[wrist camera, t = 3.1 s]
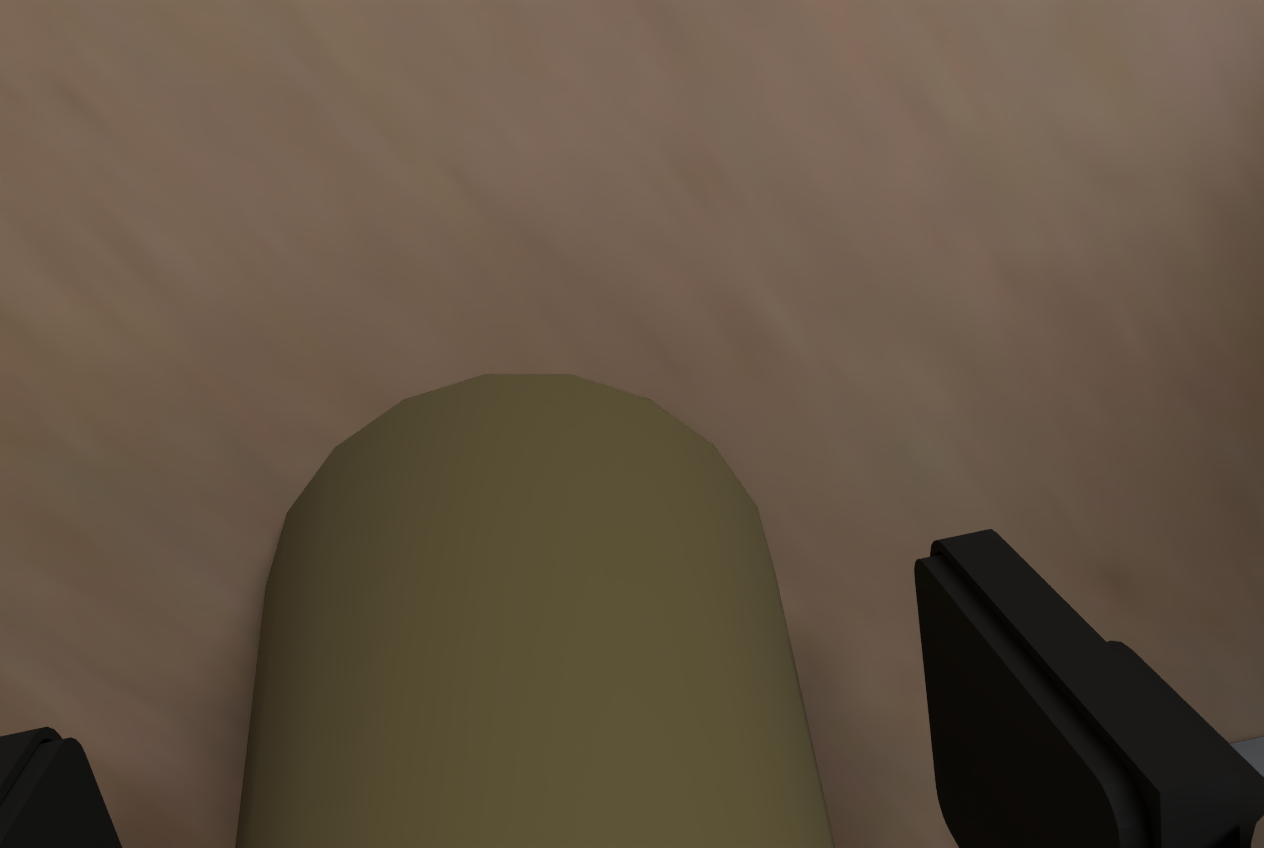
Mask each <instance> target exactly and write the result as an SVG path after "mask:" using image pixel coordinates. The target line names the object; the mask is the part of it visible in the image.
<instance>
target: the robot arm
mask: <svg viewBox="0 0 1264 848" xmlns="http://www.w3.org/2000/svg"><path fill="white" fill-rule="evenodd" d="M914 573H915V585H916V595H917V605H918V614H919V624H920V634H921V644H922V653H923V663H924V673H925V683H926V693H927V702H928V712H929V722H930V732H931V742H932V751H933V761H934V771H935V781H936V789H937V796H938V800H939V804H940V808H941V811H942V814H943V817H944V819H945V822H946V824H947V826H948V828H949V830H950V832H951V834H952V836H953V838H954V839H955V841H956V843H957V845H958V846H959V848H1264V777H1263V776H1262V775H1261V774H1260V773H1259V772H1258V771H1257V770H1256V769H1255V768H1254V767H1253V766H1252V765H1251V764H1250V763H1249V762H1248V761H1247V760H1246V759H1244V758H1243V757H1242V756H1241V755H1240V754H1239V753H1238V752H1237V751H1236V750H1235V749H1234V748H1233V747H1232V746H1231V745H1230V744H1229V743H1228V742H1227V741H1226V740H1225V739H1224V738H1223V737H1222V736H1221V735H1220V734H1219V733H1218V732H1217V731H1216V730H1215V729H1213V728H1212V727H1211V726H1210V725H1209V724H1208V723H1207V722H1206V721H1205V720H1204V719H1203V718H1202V717H1201V716H1200V715H1199V714H1198V713H1197V712H1196V711H1195V710H1194V709H1193V708H1192V707H1191V706H1190V705H1189V704H1188V703H1187V702H1186V701H1185V700H1184V699H1182V698H1181V697H1180V696H1179V695H1178V694H1177V693H1176V692H1175V691H1174V690H1173V689H1172V688H1171V687H1170V686H1169V685H1168V684H1167V683H1166V682H1165V681H1164V680H1163V679H1162V678H1161V677H1160V676H1159V675H1158V674H1157V673H1156V672H1155V671H1154V670H1153V669H1151V668H1150V667H1149V666H1148V665H1147V664H1146V663H1145V662H1144V661H1143V660H1142V659H1141V658H1140V657H1139V656H1138V655H1137V654H1136V653H1135V652H1134V651H1133V650H1132V649H1130V648H1129V647H1128V646H1126V645H1125V644H1123V643H1122V642H1118V641H1108V642H1106V641H1105V640H1104V639H1103V638H1102V637H1101V636H1100V635H1099V634H1098V633H1097V632H1096V631H1095V630H1094V629H1093V628H1092V627H1091V626H1090V625H1089V624H1088V623H1087V622H1086V621H1085V620H1084V619H1083V618H1082V617H1081V616H1080V615H1079V614H1078V613H1077V612H1076V611H1075V610H1074V609H1073V608H1072V607H1071V606H1070V605H1069V604H1068V603H1067V602H1066V601H1065V600H1064V599H1063V598H1062V597H1061V596H1060V595H1059V594H1058V593H1057V592H1056V591H1055V590H1054V589H1053V588H1052V587H1051V586H1050V585H1049V584H1048V583H1047V582H1046V581H1045V580H1044V579H1043V578H1042V577H1041V576H1040V575H1039V574H1038V573H1037V572H1036V571H1035V570H1034V569H1033V568H1032V567H1031V566H1030V565H1029V564H1028V563H1027V562H1026V561H1025V560H1024V559H1023V558H1022V557H1021V556H1020V555H1019V554H1018V553H1017V552H1016V551H1015V550H1014V549H1013V548H1012V547H1011V546H1010V545H1009V544H1008V543H1007V542H1006V541H1005V540H1004V539H1002V538H1001V537H1000V536H999V535H998V534H997V533H996V532H995V531H993V530H992V529H989V530H983V531H979V532H974V533H969V534H964V535H960V536H955V537H950V538H945V539H940V540H936V541H934V542H933V543H932V545H931V552H930V557H927V558H922V559H917V560H916V562H915V568H914ZM0 848H122V846H121V844H120V841H119V838H118V836H117V833H116V831H115V828H114V826H113V823H112V821H111V818H110V815H109V813H108V810H107V808H106V805H105V803H104V800H103V798H102V795H101V792H100V790H99V787H98V785H97V782H96V780H95V777H94V775H93V772H92V770H91V767H90V764H89V762H88V759H87V757H86V754H85V752H84V750H83V748H82V746H81V744H80V743H79V742H78V741H77V740H76V739H74V738H66V739H62V738H61V736H60V735H59V734H58V733H57V732H56V731H55V730H54V729H52V728H49V727H44V728H39V729H34V730H29V731H25V732H20V733H15V734H10V735H5V736H1V737H0Z"/></svg>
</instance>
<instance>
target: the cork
mask: <svg viewBox="0 0 1264 848" xmlns="http://www.w3.org/2000/svg"><path fill="white" fill-rule="evenodd" d="M235 848H835V846H834V841H833V837H832V832H831V827H830V823H829V818H828V814H827V809H826V804H825V800H824V795H823V791H822V786H821V781H820V777H819V772H818V768H817V763H816V758H815V754H814V749H813V745H812V740H811V735H810V731H809V726H808V721H807V717H806V712H805V708H804V703H803V698H802V694H801V689H800V685H799V680H798V675H797V671H796V666H795V662H794V657H793V652H792V648H791V643H790V639H789V634H788V629H787V625H786V620H785V616H784V611H783V606H782V602H781V597H780V593H779V588H778V583H777V579H776V574H775V571H774V567H773V563H772V560H771V556H770V552H769V549H768V545H767V541H766V538H765V534H764V530H763V527H762V523H761V519H760V516H759V512H758V508H757V506H756V504H755V503H754V502H753V500H752V499H751V497H750V496H749V494H748V493H747V492H746V490H745V489H744V487H743V486H742V485H741V483H740V482H739V480H738V479H737V477H736V476H735V475H734V473H733V472H732V470H731V469H730V467H729V466H728V465H727V463H726V462H725V460H724V459H723V458H722V456H721V455H720V453H719V452H718V450H717V449H716V448H715V446H714V445H713V444H711V443H710V442H708V441H707V440H706V439H704V438H703V437H701V436H700V435H699V434H697V433H696V432H694V431H693V430H692V429H690V428H689V427H687V426H686V425H685V424H683V423H682V422H681V421H679V420H678V419H676V418H675V417H674V416H672V415H671V414H669V413H668V412H667V411H665V410H664V409H662V408H661V407H660V406H658V405H657V404H655V403H654V402H653V401H651V400H650V399H646V398H643V397H640V396H637V395H634V394H631V393H627V392H624V391H621V390H618V389H615V388H612V387H608V386H605V385H602V384H599V383H596V382H593V381H589V380H586V379H583V378H580V377H577V376H574V375H482V376H479V377H476V378H473V379H469V380H466V381H463V382H460V383H457V384H453V385H450V386H447V387H444V388H440V389H437V390H434V391H431V392H427V393H424V394H421V395H418V396H415V397H411V398H408V399H405V400H403V401H401V402H400V403H398V404H397V405H395V406H394V407H393V408H391V409H390V410H388V411H387V412H385V413H384V414H383V415H381V416H380V417H378V418H377V419H375V420H374V421H373V422H371V423H370V424H368V425H367V426H365V427H364V428H363V429H361V430H360V431H358V432H357V433H355V434H354V435H353V436H351V437H350V438H348V439H347V440H345V441H344V442H343V443H341V444H340V445H338V446H337V447H335V448H334V450H333V451H332V452H331V454H330V455H329V457H328V458H327V459H326V461H325V462H324V463H323V465H322V466H321V467H320V469H319V470H318V472H317V473H316V474H315V476H314V477H313V478H312V480H311V481H310V482H309V484H308V485H307V486H306V488H305V489H304V491H303V492H302V493H301V495H300V496H299V497H298V499H297V500H296V501H295V503H294V504H293V506H292V507H291V508H290V510H289V511H288V513H287V516H286V520H285V523H284V526H283V530H282V533H281V537H280V540H279V543H278V547H277V550H276V554H275V557H274V560H273V564H272V567H271V570H270V574H269V577H268V581H267V584H266V591H265V600H264V608H263V617H262V625H261V634H260V642H259V651H258V660H257V668H256V677H255V685H254V694H253V702H252V711H251V719H250V728H249V736H248V745H247V753H246V762H245V770H244V779H243V787H242V796H241V804H240V813H239V821H238V830H237V838H236V847H235Z"/></svg>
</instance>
